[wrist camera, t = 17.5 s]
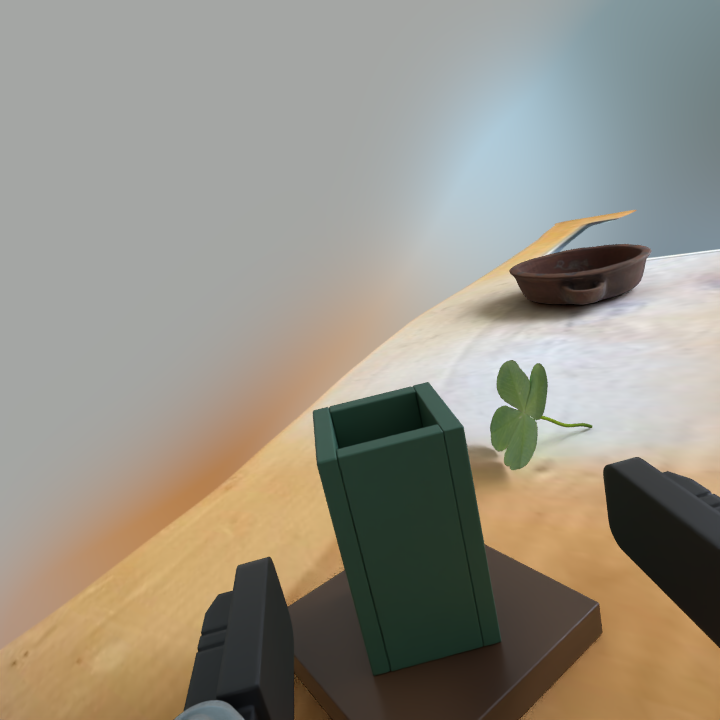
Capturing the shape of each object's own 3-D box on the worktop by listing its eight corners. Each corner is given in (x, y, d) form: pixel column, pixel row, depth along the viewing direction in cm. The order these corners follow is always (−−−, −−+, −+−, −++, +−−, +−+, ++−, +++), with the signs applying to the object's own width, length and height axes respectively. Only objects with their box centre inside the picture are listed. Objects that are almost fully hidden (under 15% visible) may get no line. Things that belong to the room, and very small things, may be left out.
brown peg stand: (417, 825, 17) (350, 569, 14) (273, 647, 25) (214, 464, 22) (603, 633, 22) (579, 418, 19) (433, 538, 30) (400, 379, 27)
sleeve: (501, 642, 20) (463, 426, 18) (373, 677, 20) (316, 462, 18) (462, 561, 25) (428, 381, 23) (358, 588, 25) (312, 410, 22)
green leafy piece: (564, 505, 38) (484, 486, 36) (550, 406, 43) (478, 385, 41) (645, 470, 32) (555, 445, 31) (618, 360, 37) (538, 333, 35)
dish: (508, 324, 67) (502, 285, 66) (518, 286, 87) (514, 255, 85) (668, 305, 60) (666, 260, 59) (640, 268, 80) (638, 234, 79)
